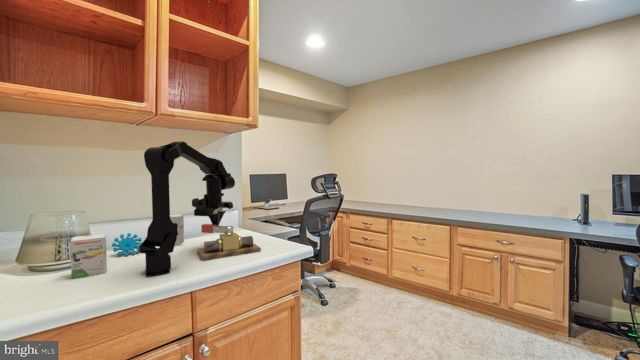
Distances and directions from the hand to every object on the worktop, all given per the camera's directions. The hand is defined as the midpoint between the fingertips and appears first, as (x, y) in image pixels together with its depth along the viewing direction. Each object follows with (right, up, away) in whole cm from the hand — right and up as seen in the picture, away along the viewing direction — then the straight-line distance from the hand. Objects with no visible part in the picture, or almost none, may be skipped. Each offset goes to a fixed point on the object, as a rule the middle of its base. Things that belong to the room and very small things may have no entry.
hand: (215, 229), depth 117 cm
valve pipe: (+7, -8, -5) cm, 12 cm away
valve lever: (+2, -1, -4) cm, 4 cm away
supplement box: (-22, -8, +9) cm, 25 cm away
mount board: (+7, -8, -5) cm, 12 cm away
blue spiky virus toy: (-31, -9, -6) cm, 33 cm away
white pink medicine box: (-30, -10, -27) cm, 41 cm away
